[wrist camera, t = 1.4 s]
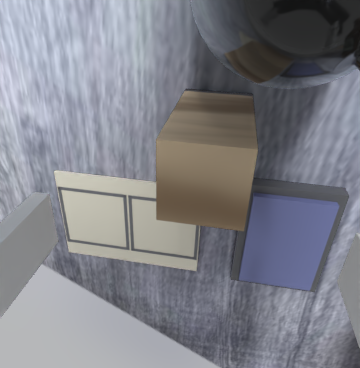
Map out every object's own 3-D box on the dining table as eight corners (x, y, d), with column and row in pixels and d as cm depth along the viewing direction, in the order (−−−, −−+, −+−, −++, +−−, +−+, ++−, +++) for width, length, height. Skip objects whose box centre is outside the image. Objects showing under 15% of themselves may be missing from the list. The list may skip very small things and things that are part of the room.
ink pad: (246, 177, 28) (246, 187, 26) (345, 188, 27) (351, 200, 25) (231, 270, 33) (230, 284, 32) (312, 282, 32) (315, 297, 31)
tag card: (55, 170, 30) (53, 171, 30) (203, 187, 29) (203, 189, 28) (70, 250, 36) (68, 252, 35) (196, 269, 34) (196, 271, 34)
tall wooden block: (185, 88, 25) (156, 139, 16) (252, 94, 24) (258, 149, 16) (183, 148, 27) (156, 219, 19) (243, 154, 27) (243, 231, 18)
